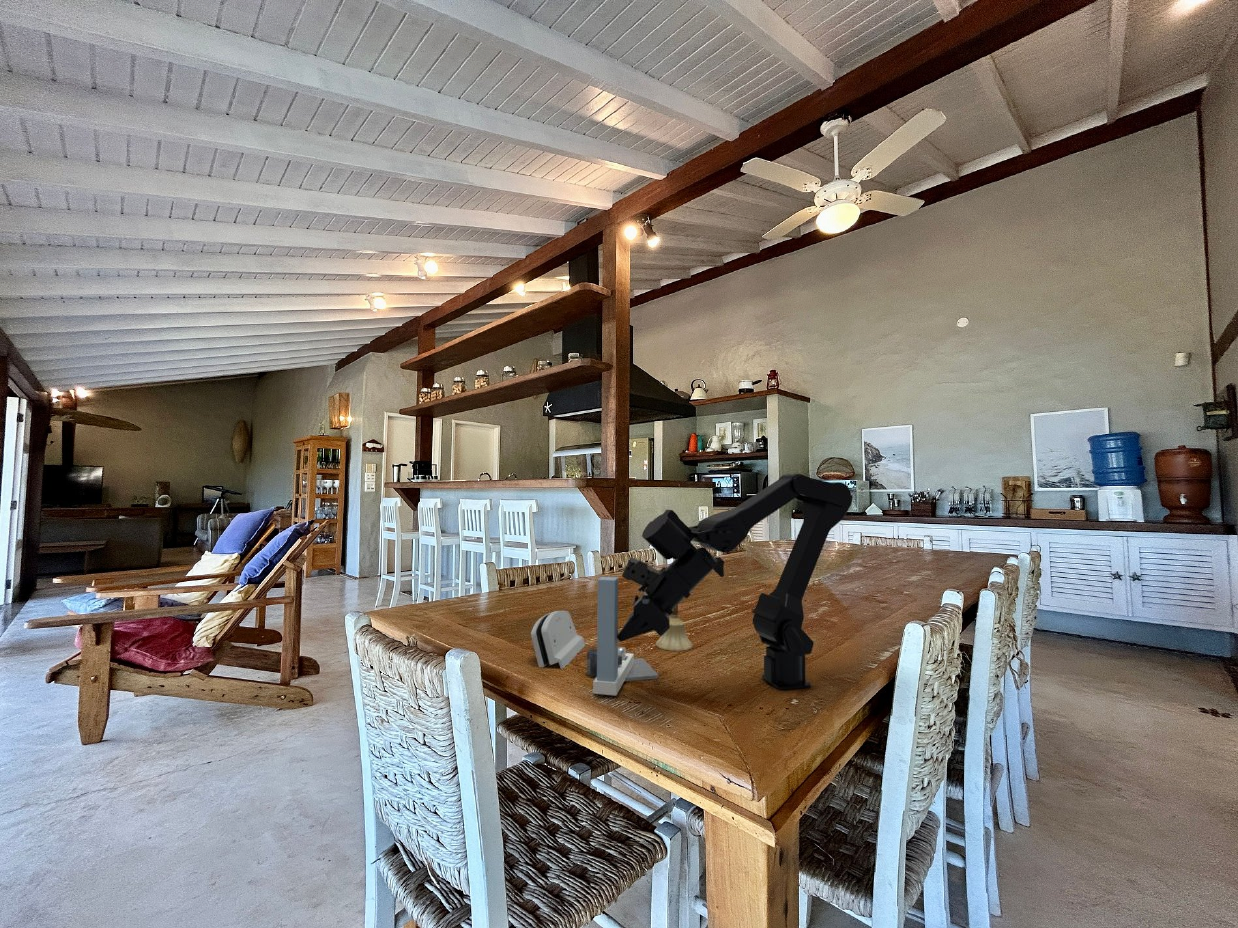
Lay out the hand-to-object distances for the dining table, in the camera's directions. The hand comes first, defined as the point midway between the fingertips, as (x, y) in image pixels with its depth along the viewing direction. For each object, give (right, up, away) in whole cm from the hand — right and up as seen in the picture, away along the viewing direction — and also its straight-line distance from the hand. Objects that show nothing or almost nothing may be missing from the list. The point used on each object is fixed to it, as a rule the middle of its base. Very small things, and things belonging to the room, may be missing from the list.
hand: (618, 638), depth 89 cm
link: (-1, -9, +5) cm, 10 cm away
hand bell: (+13, -11, +27) cm, 32 cm away
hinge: (-13, -10, +20) cm, 26 cm away
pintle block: (0, -10, +10) cm, 14 cm away
